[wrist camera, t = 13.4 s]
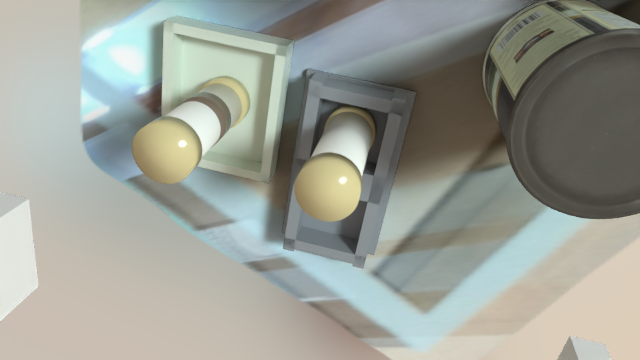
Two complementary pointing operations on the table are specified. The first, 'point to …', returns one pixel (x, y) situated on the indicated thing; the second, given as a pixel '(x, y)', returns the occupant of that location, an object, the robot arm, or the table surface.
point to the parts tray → (247, 67)
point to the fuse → (337, 165)
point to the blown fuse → (190, 130)
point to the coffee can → (570, 105)
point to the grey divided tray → (366, 220)
